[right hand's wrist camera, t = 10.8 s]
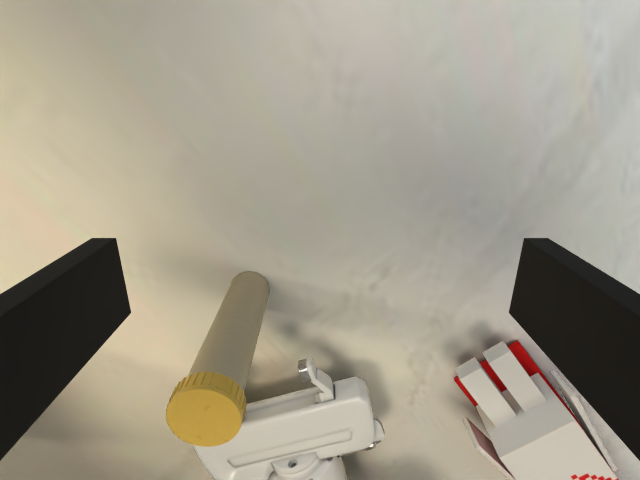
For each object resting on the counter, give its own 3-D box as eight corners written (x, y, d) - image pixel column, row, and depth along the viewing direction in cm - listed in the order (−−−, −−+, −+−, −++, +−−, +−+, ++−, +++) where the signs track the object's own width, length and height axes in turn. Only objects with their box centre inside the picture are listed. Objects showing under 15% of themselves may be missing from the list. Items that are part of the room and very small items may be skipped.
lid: (219, 438, 29) (213, 458, 27) (160, 403, 28) (149, 422, 26) (261, 396, 28) (258, 415, 26) (200, 357, 26) (192, 375, 25)
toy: (556, 361, 36) (701, 567, 40) (502, 303, 48) (617, 463, 53) (445, 421, 38) (593, 608, 43) (422, 351, 51) (538, 500, 56)
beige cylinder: (254, 312, 45) (213, 447, 28) (223, 290, 44) (161, 417, 26) (277, 286, 44) (250, 411, 26) (246, 263, 42) (196, 377, 25)
